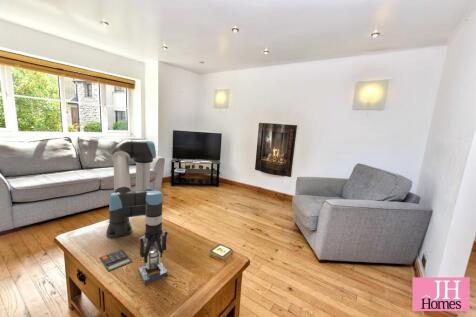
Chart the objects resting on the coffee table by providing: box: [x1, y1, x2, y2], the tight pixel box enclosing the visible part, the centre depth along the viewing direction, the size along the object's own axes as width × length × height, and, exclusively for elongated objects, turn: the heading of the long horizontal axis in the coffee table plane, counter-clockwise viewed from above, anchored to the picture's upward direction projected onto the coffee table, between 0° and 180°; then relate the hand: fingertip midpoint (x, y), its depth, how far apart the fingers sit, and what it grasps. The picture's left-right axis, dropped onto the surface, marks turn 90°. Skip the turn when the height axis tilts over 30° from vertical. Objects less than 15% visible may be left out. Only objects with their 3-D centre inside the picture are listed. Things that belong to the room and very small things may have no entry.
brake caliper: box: [144, 235, 162, 251], centre depth 127 cm, size 11×11×12 cm
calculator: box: [99, 248, 133, 272], centre depth 113 cm, size 12×1×15 cm
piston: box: [148, 249, 159, 270], centre depth 104 cm, size 5×5×8 cm
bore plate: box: [137, 260, 168, 285], centre depth 105 cm, size 11×11×2 cm
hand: (153, 265), depth 104 cm, fingers closed on piston, 5 cm apart
